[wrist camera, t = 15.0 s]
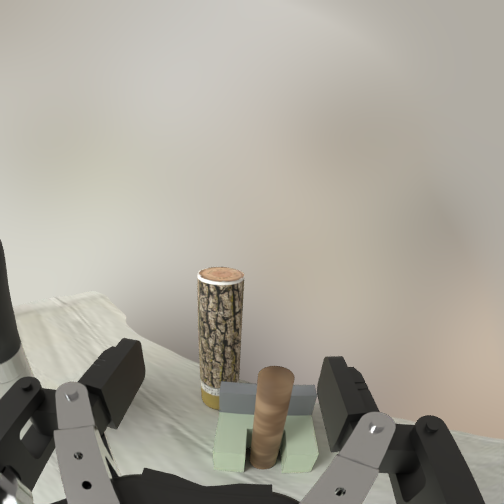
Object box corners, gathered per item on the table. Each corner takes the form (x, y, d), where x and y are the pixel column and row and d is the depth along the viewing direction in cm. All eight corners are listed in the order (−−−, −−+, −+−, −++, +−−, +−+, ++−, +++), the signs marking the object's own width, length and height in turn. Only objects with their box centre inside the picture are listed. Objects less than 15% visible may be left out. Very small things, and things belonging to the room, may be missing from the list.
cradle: (214, 469, 29) (212, 451, 28) (219, 432, 37) (219, 412, 35) (310, 471, 29) (318, 453, 27) (304, 435, 37) (311, 415, 35)
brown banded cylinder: (248, 468, 30) (257, 387, 25) (250, 449, 33) (258, 365, 29) (276, 469, 30) (296, 388, 25) (275, 450, 33) (292, 366, 29)
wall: (219, 432, 37) (219, 391, 34) (221, 422, 39) (221, 381, 37) (304, 435, 37) (317, 395, 34) (303, 425, 39) (314, 384, 37)
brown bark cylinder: (245, 402, 44) (253, 276, 39) (214, 416, 40) (212, 284, 35) (224, 383, 50) (227, 264, 44) (195, 394, 45) (189, 270, 40)
